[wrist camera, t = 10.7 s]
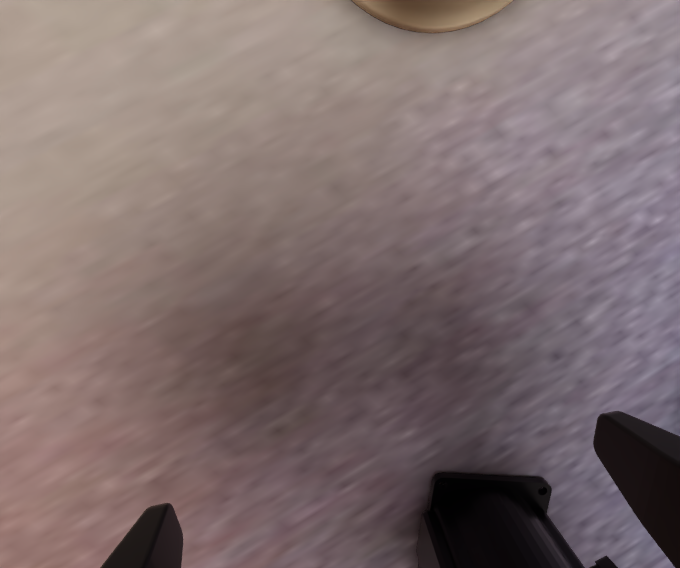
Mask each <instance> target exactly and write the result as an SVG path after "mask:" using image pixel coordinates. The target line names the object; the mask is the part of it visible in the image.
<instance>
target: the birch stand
mask: <svg viewBox="0 0 680 568" xmlns="http://www.w3.org/2000/svg"><path fill="white" fill-rule="evenodd" d="M352 1H353V2H354V3H355V4H356V5H358V6H359V7H360V8H362V9H363V10H364V11H366V12H367V13H369V14H370V15H372V16H374V17H375V18H377V19H379V20H381V21H383V22H385V23H387V24H390V25H393V26H395V27H398V28H401V29H405V30H410V31H415V32H426V33H439V32H450V31H454V30H458V29H463V28H467V27H469V26H472V25H474V24H477V23H479V22H482V21H484V20H485V19H487V18H489V17H491V16H493V15H494V14H496V13H498V12H499V11H500V10H502V9H503V8H504V7H506V6H507V5H508V4H510V3H511V2H512V1H513V0H352Z"/></svg>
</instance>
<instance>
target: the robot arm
mask: <svg viewBox="0 0 680 568" xmlns="http://www.w3.org/2000/svg"><path fill="white" fill-rule="evenodd" d="M593 445H594V449H595V452H596V454H597V456H598V457H599V459H600V461H601V462H602V464H603V465H604V467H605V468H606V470H607V471H608V473H609V474H610V476H611V478H612V479H613V481H614V482H615V484H616V485H617V487H618V488H619V490H620V491H621V493H622V495H623V496H624V498H625V499H626V501H627V502H628V504H629V505H630V507H631V508H632V510H633V512H634V513H635V514H636V516H637V517H638V519H639V520H640V522H641V523H642V525H643V526H644V527H645V529H646V530H647V531H648V533H649V534H650V535H651V537H652V538H653V539H654V540H655V542H656V543H657V544H658V546H659V547H660V548H661V549H662V551H663V552H664V553H665V555H666V556H667V557H668V559H669V560H670V561H671V562H672V564H673V565H674V566H675V568H680V436H677V435H675V434H673V433H670V432H668V431H666V430H663V429H661V428H659V427H656V426H654V425H652V424H649V423H647V422H645V421H642V420H640V419H638V418H635V417H633V416H630V415H628V414H626V413H623V412H620V411H613V412H609V413H604V414H601V415H600V416H599V417H598V419H597V424H596V430H595V435H594V441H593ZM441 482H445V483H444V484H443V485H439V484H440V483H441ZM541 487H543V488H542V489H541V490H539V489H540V488H541ZM550 496H551V487H550V485H549V484H548V482H547V481H546V480H544V479H542V478H528V477H510V476H492V475H474V474H456V473H438V474H436V475H435V476H434V477H433V479H432V484H431V490H430V497H429V503H428V509H427V510H425V511H424V512H423V514H422V518H421V524H420V530H419V537H418V543H417V549H416V552H417V556H418V559H419V564H418V568H585V567H584V566H583V564H582V563H581V562H580V560H579V559H578V557H577V556H576V555H575V553H574V552H573V550H572V549H571V548H570V546H569V545H568V543H567V542H566V541H565V539H564V538H563V536H562V535H561V534H560V532H559V531H558V529H557V528H556V527H555V525H554V524H553V522H552V521H551V520H550V518H549V517H548V515H547V514H546V513H547V509H548V505H549V500H550ZM182 550H183V534H182V529H181V527H180V524H179V521H178V519H177V516H176V514H175V511H174V508H173V506H172V505H171V504H170V503H164V504H159V505H155V506H151V507H149V508H147V509H146V510H145V511H144V513H143V514H142V515H141V516H140V518H139V519H138V520H137V522H136V523H135V524H134V525H133V527H132V528H131V529H130V531H129V532H128V533H127V534H126V536H125V537H124V538H123V539H122V541H121V542H120V543H119V545H118V546H117V547H116V548H115V550H114V551H113V552H112V554H111V555H110V556H109V557H108V559H107V560H106V561H105V563H104V564H103V565H102V566H101V568H181V562H182ZM595 563H596V565H594V566H592V567H590V568H618V567H617V566H616V565H615V564H614V563H613V562H612V561H611V560H610V559H609V558H608V557H607V556H605V557H603V558H601V559H599V560H597V561H595Z"/></svg>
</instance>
